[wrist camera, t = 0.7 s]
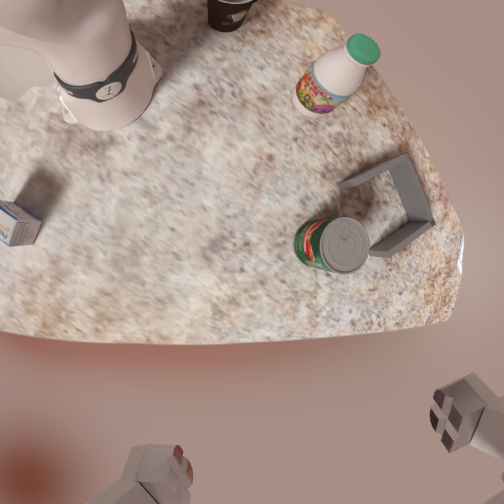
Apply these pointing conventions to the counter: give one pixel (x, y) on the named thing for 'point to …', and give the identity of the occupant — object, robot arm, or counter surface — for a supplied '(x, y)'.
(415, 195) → the box
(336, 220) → the canned tomato
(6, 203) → the medicine box
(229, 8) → the coffee mug
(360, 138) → the counter surface
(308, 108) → the milk bottle
